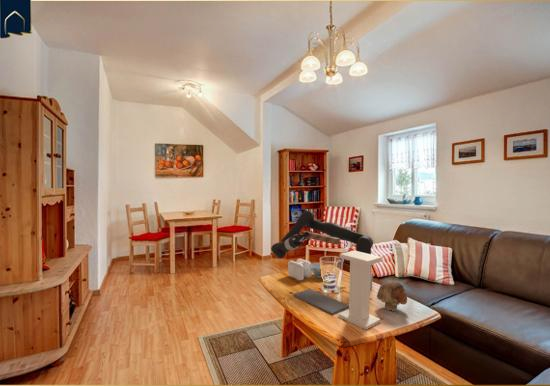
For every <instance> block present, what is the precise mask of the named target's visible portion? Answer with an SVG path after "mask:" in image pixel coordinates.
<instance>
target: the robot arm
mask: <svg viewBox="0 0 550 386" xmlns="http://www.w3.org/2000/svg"><path fill="white" fill-rule="evenodd" d="M304 227H305V228H308V229H312V230H310V231H307V230H306V231H307V232H305V233H303V234H302V233H301V231H302V229H303V228H304ZM313 230H314V231H318V232H320V233H323V235H326V236H331V237H336V238H340V241H345V242H349V243H353V244H354V245H355V251H359V252H363V253H367V254H371V255H372V247H373V246H374V240H373V239H372V237H370V236H368V235H366V234H362V233H360V232H355V231H354V230H351V229H349V228H347V227H345V226H343V225H340V224H337V223H334V222H332V221H331V222H329V221H327V222H325V221H320V220H318V219H315V215H314V213H313V212H312V211H311V210H305V211H303V212H302V213H301V214H300V216H299V217H298V219H297V220H296V222H295V223H294V225H293V226H292V227H291V229H290V230H289V231H288V232H287V233H286V234H285V236H283V238H282V239H281V242H276V243H274V244H272V246H271V247H270V249H271V252H272V253H273V254H274V255H275V256H276V257H277V259H283V258H285V256H286V254H287V253H288V252H290V251H293V250H295V249H296V248H299V247H301V245H303V242H304V241H306V240H310V238H306V236H308V235H309V232H313ZM313 233H314V232H313ZM372 265H373V264H371V270H372V269H373V268H372ZM372 288H373V272H371V274H370V290H371V289H372Z"/></svg>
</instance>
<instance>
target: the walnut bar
mask: <svg viewBox="0 0 550 386" xmlns="http://www.w3.org/2000/svg"><path fill="white" fill-rule="evenodd" d="M301 231H302V230H301ZM305 232H307V230H303V231H302V232H301V234H303V233H305ZM308 232H309V235H308V236H306V238H309V240H310V239H311V240H314V241H320V242H323V243H328V244H331V245H334V246H335V245H340V244H341V240H340V238H336V237H331V236H329V235H327V234H321V233H317V232H310V231H308Z"/></svg>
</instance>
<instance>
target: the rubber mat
mask: <svg viewBox="0 0 550 386" xmlns="http://www.w3.org/2000/svg"><path fill="white" fill-rule="evenodd" d="M292 296H293V297H295V298H297V299H299V300H301V301H303V302H306V303H307V304H309V305H311V306H313V307H315V308H318V309H320V310H321V311H324V312H325V313H328V314H330V315H331V316H333V315H336V314H339V313H341V312H343V311H346V310H348V309H349V304H347V303H344V302H342V301H339V300H337V299H335V298H332V297H330V296H328V295H326V294H324V293H321V292H318V291H316V290H314V289H311V288H308V289H304V290H301V291H299V292H296V293H293V294H292Z"/></svg>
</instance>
